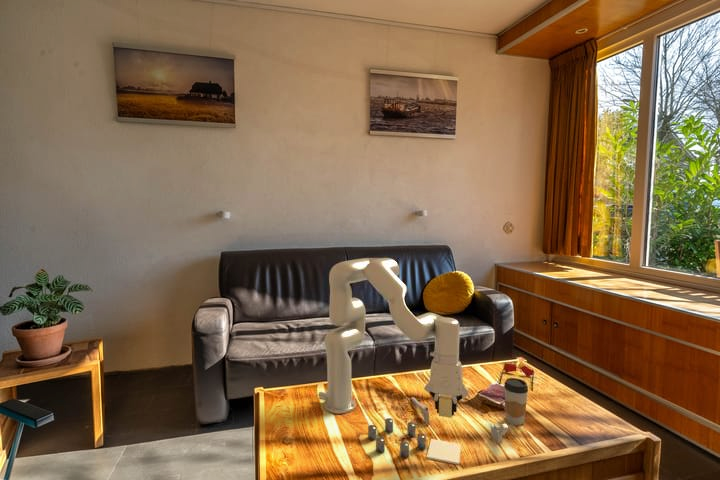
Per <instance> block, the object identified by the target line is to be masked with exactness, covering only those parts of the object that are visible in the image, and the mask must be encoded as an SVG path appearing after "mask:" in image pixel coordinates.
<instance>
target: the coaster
mask: <svg viewBox="0 0 720 480" xmlns="http://www.w3.org/2000/svg"><path fill="white" fill-rule="evenodd" d="M461 451H462V444H461V443H456V442H451V441H446V440H445V441H444V440H438V439H435V438H431V439H430V442H429V446H428V450H427V455H426V459H428V460H433V461H439V462H444V463H449V464H454V465H460V462H461V461H460V460H461V453H462V452H461Z"/></svg>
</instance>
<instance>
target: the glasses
mask: <svg viewBox="0 0 720 480" xmlns="http://www.w3.org/2000/svg"><path fill="white" fill-rule="evenodd" d="M518 366H519V369H520V370H519V372H520V373H523V374H524V376H526V377H531V376H532V378H531V391H532V392H533V391H534V375H535V371H534V369H533V368H532V367H530V366H525V365H522V366H520V365H518V364H512V363H504V365H503V368H502V370H501V371H502V372H501V374H500V377H499V378H500V379H499V383H498V385H499V384H500V385H501V383H502V378H503V374H504V372H505V373H511V372H515V373H516V372H517V367H518Z"/></svg>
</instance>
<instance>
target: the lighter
mask: <svg viewBox="0 0 720 480" xmlns="http://www.w3.org/2000/svg"><path fill="white" fill-rule="evenodd" d="M508 429H509V426H508V425H507V423H502V424H501V425H500V426H499V425H498V424H497V423H494V424H491V425H490V438H491V439H492V440H493V442H495V443H496V444H497V445H499V444H502V442H503V436H504V435H506V433H507V431H508Z"/></svg>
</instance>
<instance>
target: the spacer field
mask: <svg viewBox="0 0 720 480" xmlns="http://www.w3.org/2000/svg"><path fill="white" fill-rule="evenodd" d="M406 431H407V433H406V435H407V437H409V438H411V439H413V438H416V423H415V422H413V421H409V422H407V429H406ZM393 432H394V420H393V418H389V417H388V418H385V419H384V433H386V434H393ZM367 439H368V440H369V441H371V442H373V441H375V452H376V453H377V454H380V455H381V454H384V453H385V450H386V447H385V444H386V443H385V441H386V440H385V437H383V436H378V437H377V426H376V425H374V424H370V425H368V427H367ZM416 441H417V442H416V447H417V450H420V451H425V450H426V447H427V445H426V444H427V436H426V434H425V433H419V434H417V439H416ZM399 443H400V444H399V448H400V449H399V457H400V458H401V459H405V460H406V459H408V458H409V457H410V444H409V442H407V441H404V440H403V441H401V442H399Z"/></svg>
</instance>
